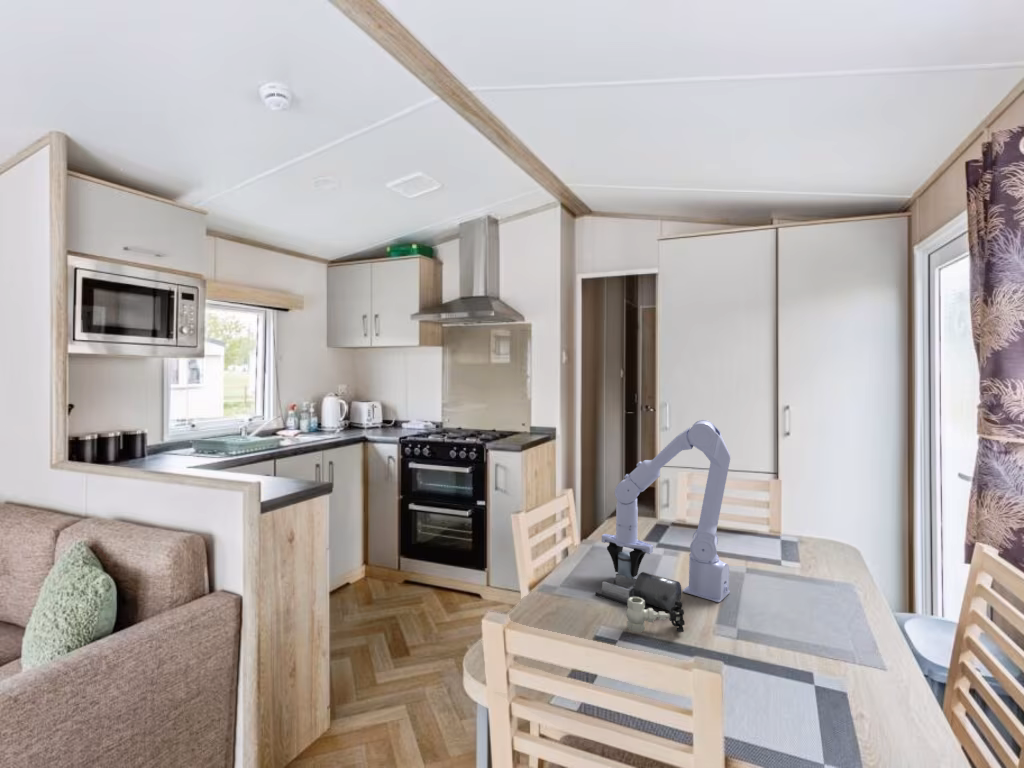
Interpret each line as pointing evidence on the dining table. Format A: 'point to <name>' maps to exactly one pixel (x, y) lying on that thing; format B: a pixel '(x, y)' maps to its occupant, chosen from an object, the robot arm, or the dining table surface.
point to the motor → (643, 590)
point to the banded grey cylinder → (624, 564)
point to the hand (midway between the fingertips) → (626, 573)
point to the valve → (651, 615)
